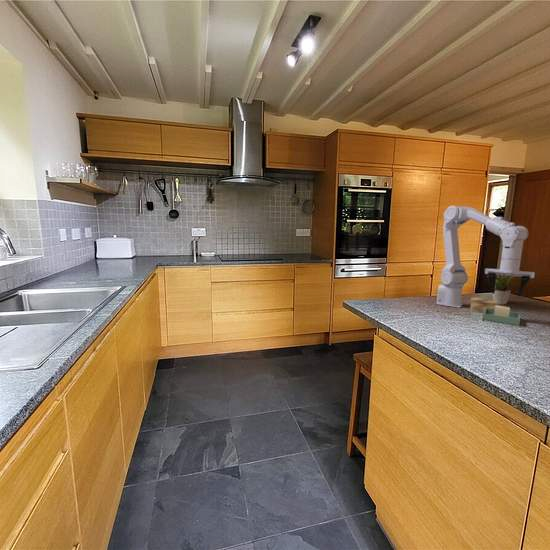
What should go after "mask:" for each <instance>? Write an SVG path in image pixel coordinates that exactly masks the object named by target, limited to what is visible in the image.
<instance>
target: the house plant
mask: <svg viewBox="0 0 550 550" xmlns="http://www.w3.org/2000/svg"><path fill="white" fill-rule="evenodd" d="M502 274H505V273H502ZM506 274H508V273H506ZM516 277H518V276H507V275H496V282H495V293H492V292H491V294H492V295H491V297H492V300H498V301H497V304H496V305H506V304H507V303H508V301H509V297H510V295H511V291H512V290H510V289H508V288H510V287H514V285H518V286H519V284H518V283H510V282H511V281H512V280H513V279H515V278H516ZM487 282H488V283H490V280H488V281H487Z"/></svg>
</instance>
